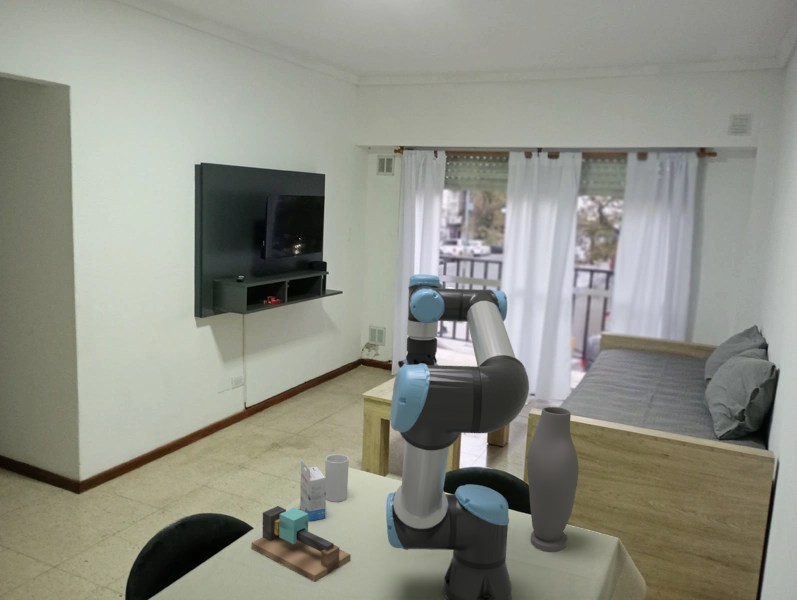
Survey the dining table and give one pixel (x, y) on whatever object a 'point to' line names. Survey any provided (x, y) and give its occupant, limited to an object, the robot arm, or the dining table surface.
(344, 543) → the dining table surface
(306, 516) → the sleeve
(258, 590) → the dining table surface
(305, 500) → the ink box
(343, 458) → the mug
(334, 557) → the cradle board
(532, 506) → the vase
